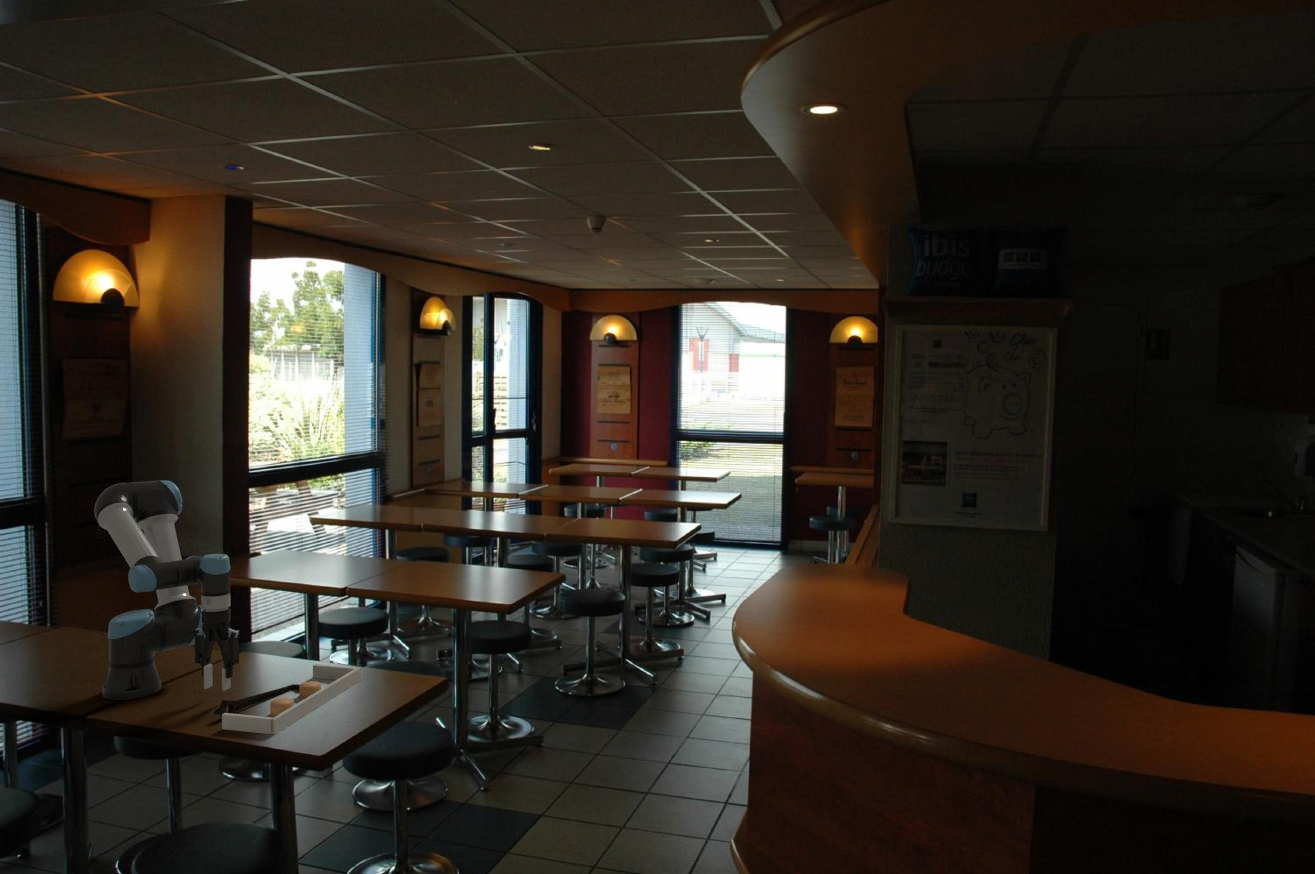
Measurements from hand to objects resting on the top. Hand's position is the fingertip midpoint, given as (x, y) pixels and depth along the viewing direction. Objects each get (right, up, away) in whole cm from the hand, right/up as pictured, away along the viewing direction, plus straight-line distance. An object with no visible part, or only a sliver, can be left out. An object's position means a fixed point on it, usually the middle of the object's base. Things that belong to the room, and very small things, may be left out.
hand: (217, 687), depth 260 cm
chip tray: (+23, -4, 0) cm, 23 cm away
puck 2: (+24, -4, +6) cm, 26 cm away
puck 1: (+22, -5, -8) cm, 24 cm away
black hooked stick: (+14, -5, -2) cm, 15 cm away
